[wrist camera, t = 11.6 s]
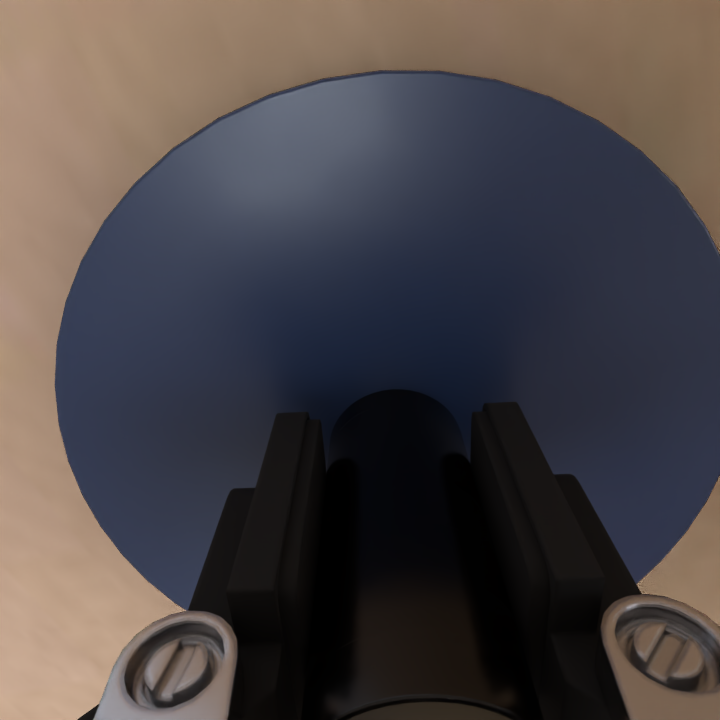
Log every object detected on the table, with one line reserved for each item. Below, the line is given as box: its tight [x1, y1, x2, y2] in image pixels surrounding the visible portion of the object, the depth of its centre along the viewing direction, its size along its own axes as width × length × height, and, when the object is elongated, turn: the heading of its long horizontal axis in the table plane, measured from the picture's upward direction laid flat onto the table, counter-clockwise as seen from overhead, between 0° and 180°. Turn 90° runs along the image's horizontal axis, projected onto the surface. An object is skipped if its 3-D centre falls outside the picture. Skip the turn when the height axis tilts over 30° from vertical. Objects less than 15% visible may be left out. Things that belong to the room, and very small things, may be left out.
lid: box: [55, 70, 720, 720], centre depth 9 cm, size 13×13×7 cm
